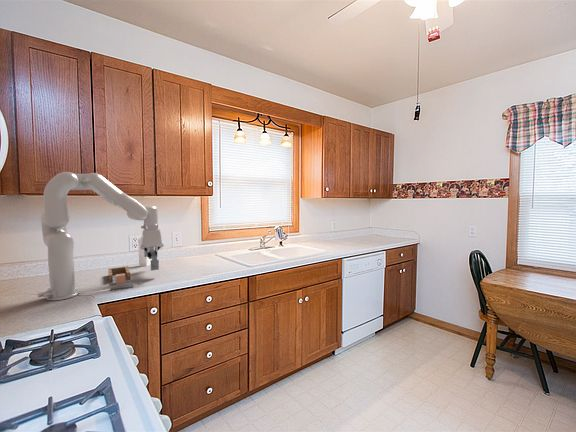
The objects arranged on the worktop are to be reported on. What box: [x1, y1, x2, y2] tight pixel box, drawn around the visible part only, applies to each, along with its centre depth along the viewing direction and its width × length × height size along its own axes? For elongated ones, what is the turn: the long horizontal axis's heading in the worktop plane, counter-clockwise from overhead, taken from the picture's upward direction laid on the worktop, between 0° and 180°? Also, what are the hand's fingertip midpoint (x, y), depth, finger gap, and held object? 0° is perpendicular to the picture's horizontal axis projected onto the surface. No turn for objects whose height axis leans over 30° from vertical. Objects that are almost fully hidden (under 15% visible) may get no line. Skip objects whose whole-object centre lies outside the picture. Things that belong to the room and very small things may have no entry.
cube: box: [115, 273, 126, 285], centre depth 155 cm, size 4×4×4 cm
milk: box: [137, 236, 152, 268], centre depth 194 cm, size 6×6×22 cm
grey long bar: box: [144, 247, 160, 271], centre depth 172 cm, size 22×5×8 cm, turn 34°
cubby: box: [107, 266, 134, 292], centre depth 160 cm, size 30×10×5 cm, turn 34°
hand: (152, 258), depth 169 cm, fingers closed on grey long bar
